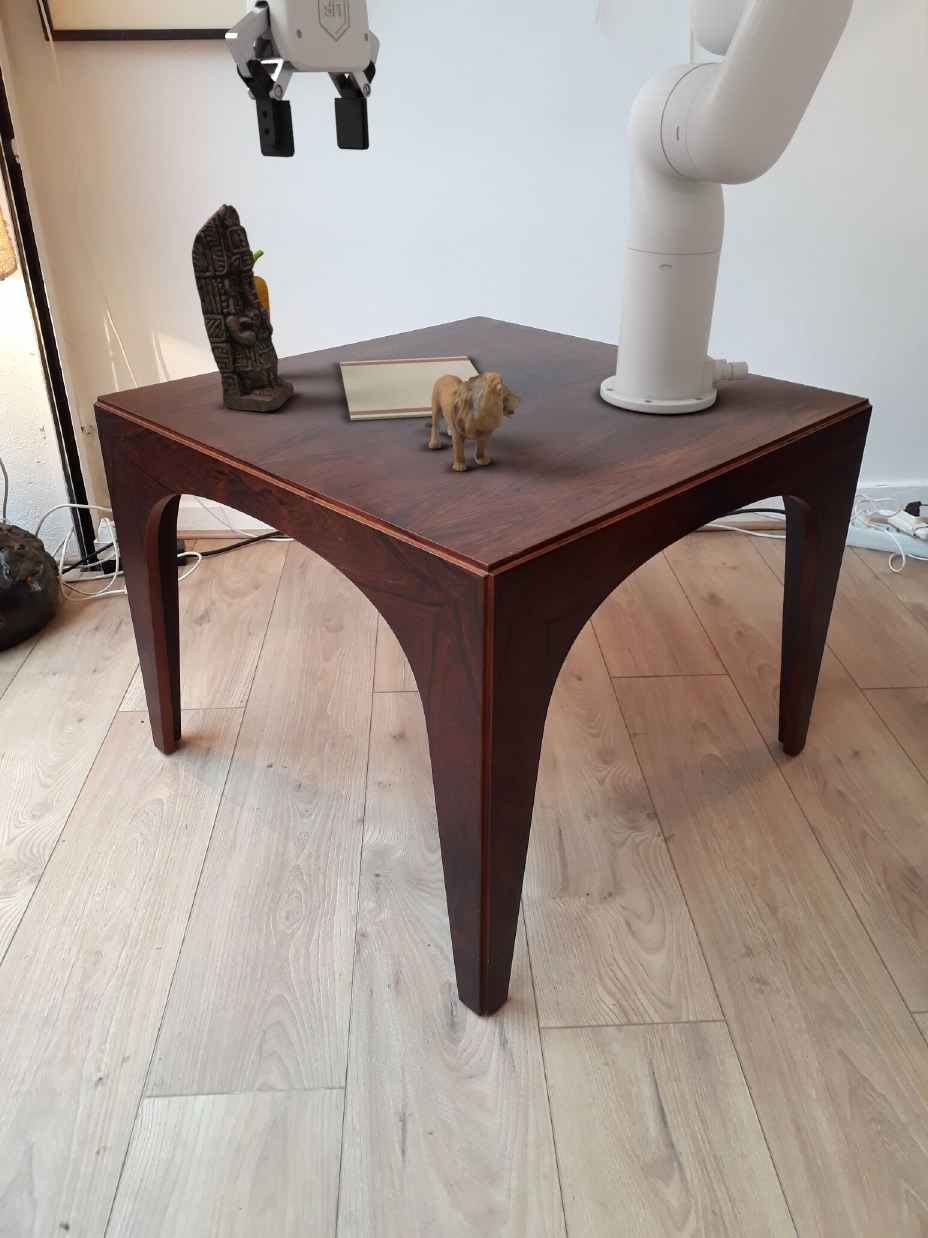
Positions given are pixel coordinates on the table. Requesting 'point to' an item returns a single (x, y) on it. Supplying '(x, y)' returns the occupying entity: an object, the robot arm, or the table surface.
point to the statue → (236, 315)
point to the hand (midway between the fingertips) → (317, 152)
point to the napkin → (398, 385)
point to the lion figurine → (470, 412)
